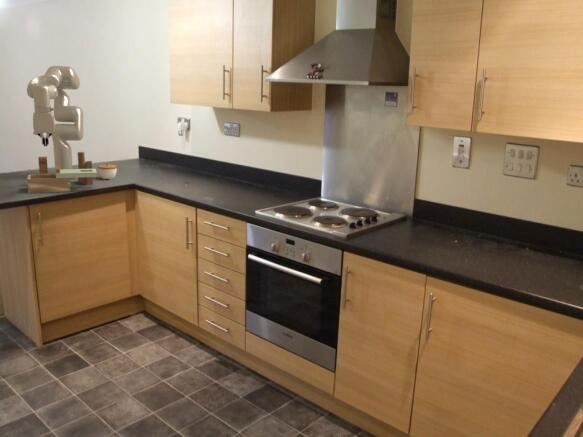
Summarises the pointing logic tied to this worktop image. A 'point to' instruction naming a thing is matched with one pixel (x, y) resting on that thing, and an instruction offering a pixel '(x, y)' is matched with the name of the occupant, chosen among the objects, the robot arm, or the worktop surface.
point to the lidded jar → (107, 171)
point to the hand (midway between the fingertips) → (45, 145)
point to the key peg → (43, 165)
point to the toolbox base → (47, 183)
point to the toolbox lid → (75, 173)
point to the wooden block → (84, 165)
